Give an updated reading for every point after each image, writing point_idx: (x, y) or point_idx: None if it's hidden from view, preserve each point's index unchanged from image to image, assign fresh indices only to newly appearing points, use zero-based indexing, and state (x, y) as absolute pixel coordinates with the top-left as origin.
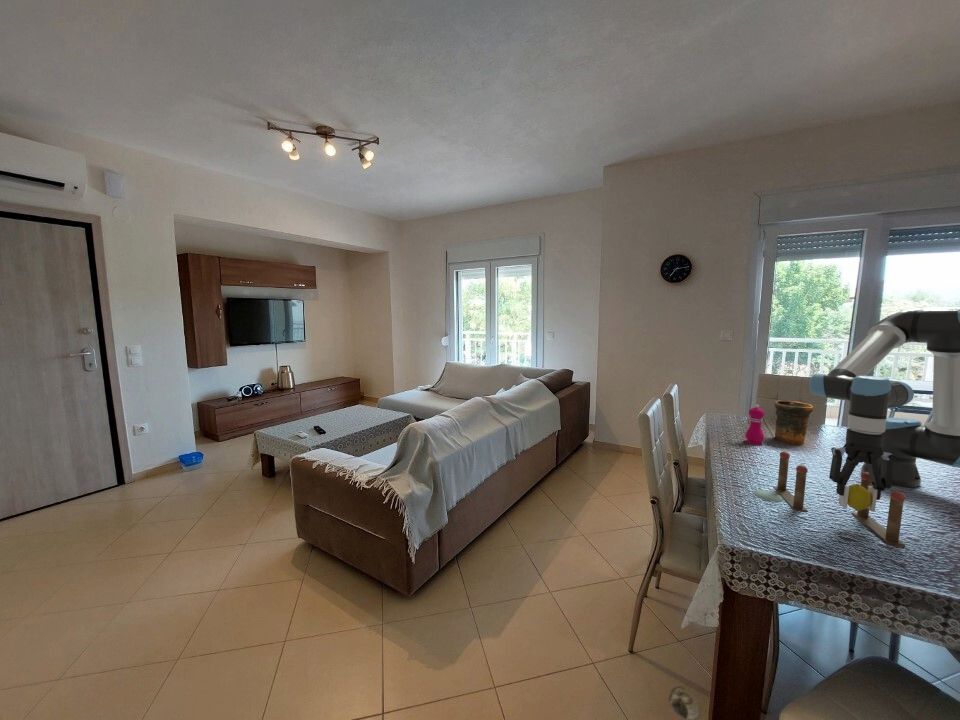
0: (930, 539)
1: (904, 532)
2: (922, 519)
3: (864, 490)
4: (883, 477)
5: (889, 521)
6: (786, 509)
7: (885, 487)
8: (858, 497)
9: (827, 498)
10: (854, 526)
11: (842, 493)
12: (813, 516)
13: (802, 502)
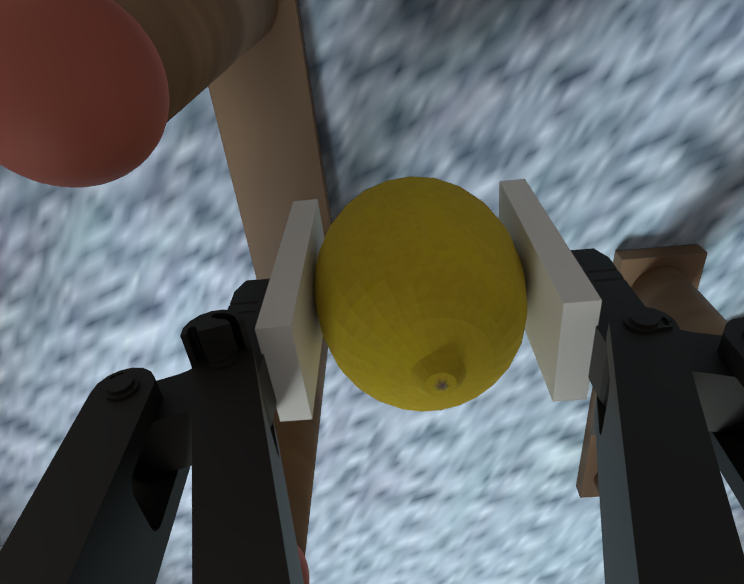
0: (14, 180)
1: (132, 215)
2: (22, 414)
3: (393, 298)
4: (136, 526)
5: (240, 3)
6: (734, 246)
7: (157, 387)
8: (454, 216)
9: (396, 470)
10: (398, 168)
11: (577, 261)
12: (603, 211)
13: (671, 295)
